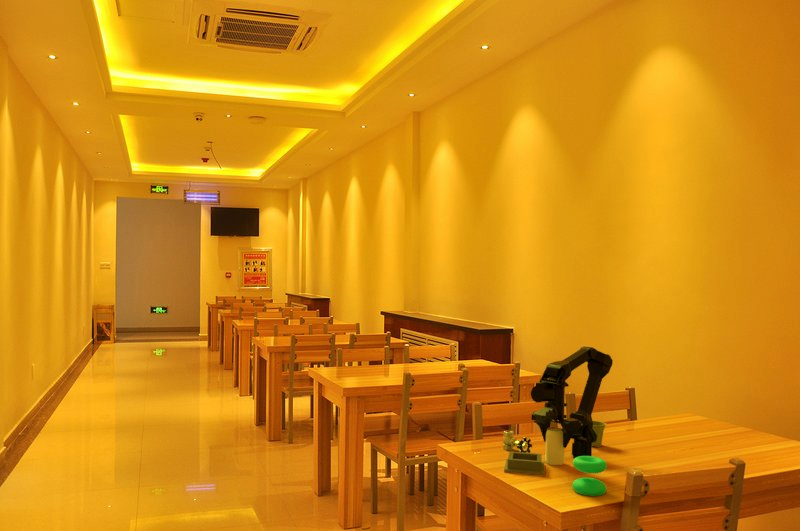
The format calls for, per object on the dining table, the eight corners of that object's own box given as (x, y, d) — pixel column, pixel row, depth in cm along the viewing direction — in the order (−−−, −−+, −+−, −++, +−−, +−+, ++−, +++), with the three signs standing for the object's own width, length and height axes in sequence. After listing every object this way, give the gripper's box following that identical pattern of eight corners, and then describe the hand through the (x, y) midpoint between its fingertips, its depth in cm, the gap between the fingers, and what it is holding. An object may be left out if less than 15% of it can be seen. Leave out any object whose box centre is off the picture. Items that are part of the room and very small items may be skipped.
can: (542, 460, 245) (543, 426, 245) (560, 460, 245) (561, 427, 246) (548, 465, 238) (549, 431, 239) (566, 465, 239) (567, 431, 239)
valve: (497, 448, 261) (518, 456, 250) (498, 431, 261) (518, 438, 250) (511, 447, 264) (532, 454, 254) (512, 429, 264) (532, 436, 254)
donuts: (614, 461, 208) (588, 464, 204) (613, 495, 208) (587, 498, 204) (591, 453, 217) (566, 456, 213) (591, 485, 217) (565, 488, 213)
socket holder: (544, 465, 239) (544, 453, 239) (544, 475, 227) (544, 463, 227) (506, 461, 242) (506, 450, 242) (504, 472, 229) (504, 459, 229)
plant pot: (594, 449, 264) (594, 426, 264) (575, 443, 272) (576, 421, 272) (610, 446, 269) (611, 424, 269) (591, 441, 277) (592, 419, 277)
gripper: (520, 397, 246) (519, 441, 246) (559, 406, 230) (558, 453, 230) (543, 395, 252) (542, 438, 252) (582, 403, 236) (581, 449, 236)
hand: (555, 444), depth 242 cm, fingers open, 9 cm apart
